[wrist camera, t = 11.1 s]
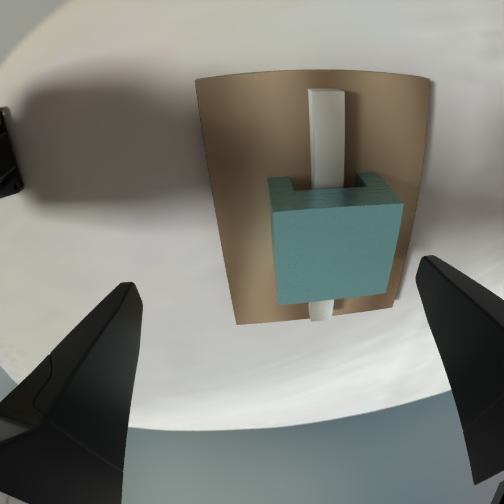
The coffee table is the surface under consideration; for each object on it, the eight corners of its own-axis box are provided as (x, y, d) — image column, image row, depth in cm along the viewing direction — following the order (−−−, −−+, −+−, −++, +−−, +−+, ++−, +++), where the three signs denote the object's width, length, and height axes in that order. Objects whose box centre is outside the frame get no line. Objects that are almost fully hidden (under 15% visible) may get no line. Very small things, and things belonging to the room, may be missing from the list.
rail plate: (236, 315, 25) (236, 336, 24) (197, 79, 15) (190, 82, 13) (388, 299, 25) (396, 317, 23) (421, 76, 14) (440, 81, 12)
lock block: (272, 261, 21) (278, 305, 18) (266, 178, 17) (272, 212, 14) (366, 253, 21) (385, 293, 17) (375, 172, 17) (403, 203, 14)
